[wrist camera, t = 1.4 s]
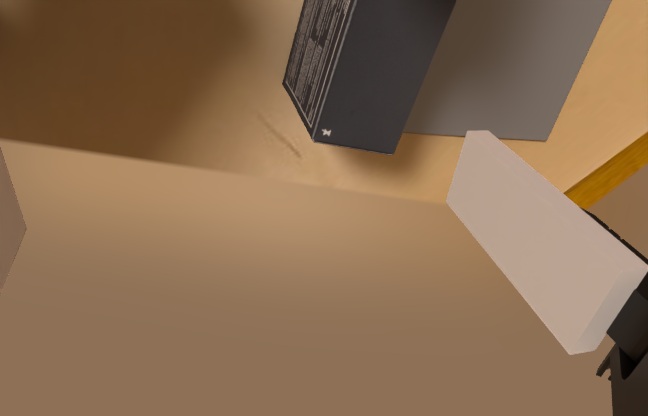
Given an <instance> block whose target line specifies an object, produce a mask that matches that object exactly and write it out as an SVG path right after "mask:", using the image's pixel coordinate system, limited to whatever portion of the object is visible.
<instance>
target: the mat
mask: <svg viewBox="0 0 648 416" xmlns="http://www.w3.org/2000/svg"><path fill="white" fill-rule="evenodd" d="M611 1H612V0H457V2H456V4H455V7H454V9H453V12H452V14H451V16H450V18H449V21H448V23H447V26H446V28H445V31H444V33H443V35H442V38H441V40H440V43H439V45H438V47H437V50H436V52H435V55H434V57H433V59H432V62H431V64H430V67H429V69H428V71H427V74H426V76H425V79H424V81H423V83H422V86H421V88H420V91H419V93H418V96H417V98H416V100H415V103H414V105H413V108H412V110H411V113H410V115H409V118H408V120H407V122H406V125H405V127H404V130H403V132H402V133H420V134H437V135H455V136H466V133H467V131H479V130H488V131H489V132H491V133H492V134H493V135H494V136H495V137H497V138H507V139H524V140H542V141H547V139H548V137H549V135H550V132H551V130H552V128H553V126H554V124H555V122H556V120H557V117H558V115H559V113H560V111H561V109H562V107H563V104H564V102H565V100H566V98H567V96H568V94H569V92H570V89H571V87H572V85H573V83H574V81H575V79H576V76H577V74H578V72H579V70H580V68H581V66H582V64H583V61H584V59H585V57H586V55H587V53H588V51H589V48H590V46H591V44H592V42H593V40H594V38H595V36H596V33H597V31H598V29H599V27H600V25H601V23H602V20H603V18H604V16H605V14H606V12H607V10H608V8H609V5H610V3H611Z"/></svg>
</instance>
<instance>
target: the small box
mask: <svg viewBox="0 0 648 416" xmlns="http://www.w3.org/2000/svg"><path fill="white" fill-rule="evenodd" d="M456 2H457V0H304V3H303V7H302V11H301V15H300V18H299V22H298V26H297V30H296V33H295V37H294V41H293V45H292V48H291V52H290V56H289V60H288V64H287V68H286V72H285V76H284V80H283V83H282V84H283V86H284V88H285V90H286V91H287V93H288V94H289V96H290V98H291V100H292V102H293V104H294V105H295V107H296V109H297V112H298V113H299V116H300V117H301V119H302V121H303V123H304V125H305V127H306V129H307V131H308V133H309V134H310V136H311V139H312V141H313V142H314V143H321V144H328V145H333V146H339V147H345V148H351V149H357V150H362V151H367V152H374V153H379V154H385V155H393V154H394V152H395V149H396V147H397V144H398V142H399V140H400V137H401V135H402V132H403V130H404V127H405V125H406V122H407V120H408V118H409V115H410V113H411V110H412V108H413V105H414V103H415V100H416V98H417V96H418V93H419V91H420V88H421V86H422V83H423V81H424V79H425V76H426V74H427V71H428V69H429V67H430V64H431V62H432V59H433V57H434V55H435V52H436V50H437V47H438V45H439V43H440V40H441V38H442V35H443V33H444V31H445V28H446V26H447V23H448V21H449V18H450V16H451V14H452V12H453V9H454V7H455V4H456Z"/></svg>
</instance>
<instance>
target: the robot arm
mask: <svg viewBox="0 0 648 416" xmlns="http://www.w3.org/2000/svg"><path fill="white" fill-rule="evenodd" d="M446 203H447V204H448V205H449V206H450V208H451V209H452V210H453V211H454V212H455V214H456V215H457V216H458V217H459V219H460V220H461V221H462V222H463V224H464V225H465V226H466V227H467V229H468V230H469V231H470V232H471V234H472V235H473V236H474V237H475V238H476V240H477V241H478V242H479V243H480V245H481V246H482V247H483V248H484V250H485V251H486V252H487V253H488V255H489V256H490V257H491V258H492V259H493V261H494V262H495V263H496V264H497V266H498V267H499V268H500V269H501V271H502V272H503V273H504V274H505V275H506V277H507V278H508V279H509V280H510V282H511V283H512V284H513V285H514V287H515V288H516V289H517V290H518V292H519V293H520V294H521V295H522V296H523V298H524V299H525V300H526V302H527V303H528V304H529V305H530V306H531V308H532V309H533V310H534V311H535V313H536V314H537V315H538V316H539V318H540V319H541V320H542V321H543V323H545V325H546V326H547V327H548V329H549V330H550V331H551V332H552V333H553V335H554V336H555V337H556V339H557V340H558V341H559V342H560V344H561V345H562V346H563V347H564V348H565V350H566V351H567V352H568V353H569V355H572V354H577V353H582V352H589V351H594V350H596V348H597V347H598V345H599V344H600V342H601V340H602V339H603V338H604V336H605V335H606V333H607V334H608V335H609V336H610V337H611V338H612V339H613V340H614V341H615V342H616V344H615V345H614V346H613V348H612V349H611V351H610V352H609V354H608V355H607V356H606V358H605V360H604V361H603V362H602V364H601V365H600V366H599V368H598V370H597V373H596V375H598V376H600V377H601V376H602V375H603V373H604V372H605V370H606V369H609V368H610V369H611V375H610V376H609V378H608V380H610V381H611V387H612V406H613V416H648V259H647V258H645V257H644V256H643V255H642V254H641V253H639V252H638V251H637V250H636V249H635V248H633V247H632V246H631V245H630V244H629V243H627V242H626V241H625V240H624V239H622V240H621V239H620V236H619V235H618V234H617V233H615V232H614V231H613V230H612V229H610V230H609V227H608V226H607V225H606V224H605V223H603V222H602V221H601V220H599V219H598V218H597V217H596V216H595V215H593V214H592V213H590V212H588V211H586V210H584V209H582V208H581V207H579V206H577V205H576V204H575V203H574V202H572V201H571V200H570V199H569V198H568V197H567V196H565V195H564V194H563V193H562V192H561V191H559V190H558V189H557V188H556V187H555V186H553V185H552V184H551V183H550V182H549V181H548V180H546V179H545V178H544V177H543V176H542V175H540V174H539V173H538V172H537V171H536V170H535V169H533V168H532V167H531V166H530V165H529V164H527V163H526V162H525V161H524V160H523V159H521V158H520V157H519V156H518V155H517V154H516V153H514V152H513V151H512V150H511V149H510V148H508V147H507V146H506V145H505V144H504V143H503V142H501V141H500V140H499V139H498V138H497V137H495V136H494V135H493V134H492V133H491V132H489V131H488V130H479V131H467V133H466V137H465V140H464V143H463V147H462V150H461V153H460V156H459V160H458V163H457V166H456V170H455V173H454V176H453V179H452V183H451V186H450V189H449V193H448V196H447V199H446ZM25 231H26V226H25V222H24V220H23V216H22V213H21V210H20V207H19V204H18V201H17V198H16V195H15V191H14V188H13V185H12V182H11V179H10V176H9V173H8V170H7V167H6V164H5V160H4V157H3V154H2V151H1V148H0V294H1V291H2V289H3V286H4V283H5V281H6V278H7V276H8V274H9V271H10V269H11V266H12V263H13V261H14V259H15V256H16V254H17V251H18V249H19V246H20V244H21V241H22V238H23V236H24V234H25Z"/></svg>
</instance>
